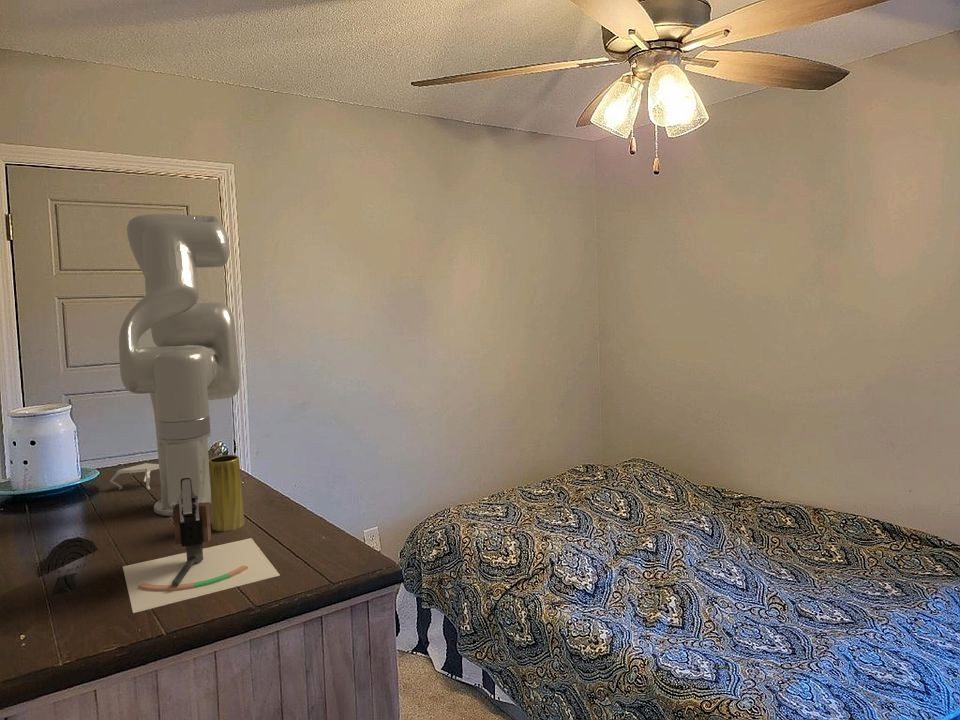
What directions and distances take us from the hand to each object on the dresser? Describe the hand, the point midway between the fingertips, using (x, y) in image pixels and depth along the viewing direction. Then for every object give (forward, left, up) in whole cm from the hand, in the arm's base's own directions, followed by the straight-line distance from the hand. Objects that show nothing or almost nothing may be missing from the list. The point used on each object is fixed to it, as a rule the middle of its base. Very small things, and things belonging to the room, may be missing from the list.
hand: (192, 540), depth 105 cm
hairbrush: (-8, -17, -6) cm, 20 cm away
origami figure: (-56, -3, -6) cm, 57 cm away
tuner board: (+4, 0, -5) cm, 7 cm away
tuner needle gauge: (+4, -2, -3) cm, 6 cm away
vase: (-14, +8, -5) cm, 17 cm away
